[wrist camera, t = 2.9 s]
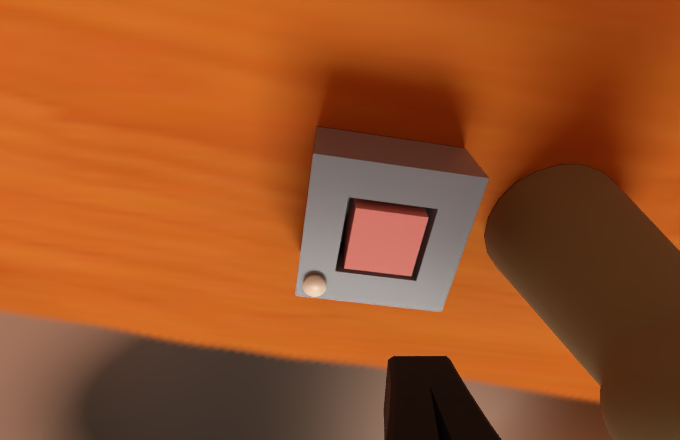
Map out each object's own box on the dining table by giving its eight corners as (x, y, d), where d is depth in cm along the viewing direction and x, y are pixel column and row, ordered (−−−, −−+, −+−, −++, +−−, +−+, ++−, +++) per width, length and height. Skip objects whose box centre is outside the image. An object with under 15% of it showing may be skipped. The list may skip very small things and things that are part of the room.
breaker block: (465, 148, 17) (491, 181, 14) (427, 268, 20) (442, 315, 17) (316, 126, 16) (312, 156, 13) (300, 253, 19) (294, 299, 16)
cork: (504, 298, 21) (652, 570, 11) (466, 200, 18) (620, 448, 8) (632, 252, 19) (925, 514, 10) (611, 139, 17) (990, 348, 7)
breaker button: (418, 192, 16) (428, 217, 15) (403, 247, 18) (411, 276, 16) (353, 184, 16) (355, 207, 14) (343, 240, 17) (344, 268, 16)
